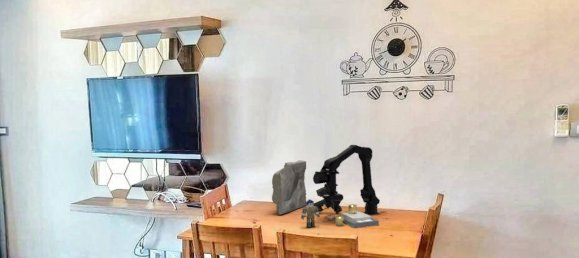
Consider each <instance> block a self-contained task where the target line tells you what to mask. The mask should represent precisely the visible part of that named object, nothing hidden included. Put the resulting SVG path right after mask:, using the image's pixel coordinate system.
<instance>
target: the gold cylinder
mask: <svg viewBox="0 0 579 258" xmlns="http://www.w3.org/2000/svg"><path fill="white" fill-rule="evenodd" d="M335 226H336V227H344V226H345V224H344V217H343V216H342V215H335Z"/></svg>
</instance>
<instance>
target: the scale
mask: <svg viewBox="0 0 579 258" xmlns="http://www.w3.org/2000/svg"><path fill="white" fill-rule="evenodd" d="M340 213H341V212H340ZM340 216H343V217H344V225H347V226H349V227H351V228H352V229H358V228H367V226H368V227H374V226H375V225H376V226H380V220H378V219H376V218H374V217H373V215H368V214H366V213H364V212H362V211H358V210H357V214H349V211H348V212H342V213H341V215H340Z"/></svg>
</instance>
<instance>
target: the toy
mask: <svg viewBox="0 0 579 258" xmlns="http://www.w3.org/2000/svg"><path fill="white" fill-rule="evenodd" d="M306 202H307V205H306V206H303V207H302V211H301V217H300V219H302V220H304V219H305V218H306V228H307V229H315V228H316V227H317V226H316V224H315V223H316V222H315V219H316V217H317V218H318V219H319V218H320V217H321V215H320V212H318V207H316V206H313V205H314V203H315V201H314V200H312V199H308V200H306ZM314 211H315V212H314Z"/></svg>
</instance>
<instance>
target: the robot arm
mask: <svg viewBox="0 0 579 258" xmlns="http://www.w3.org/2000/svg"><path fill="white" fill-rule="evenodd" d="M354 154H357V156H358V158H359V160H360V162H361V169H362V171H361V172H362V181H363V185H362V186H363V187H362V188H361V189H359V190H360V197H361V199H362V201H363V203H365V205H364V212H363V213H364V214H367V215H369V216H373V215H379V214H380V213H379V212H378V205H379V204H380V199H379V198H378V196H377V194H376V190H375V188H374V187H373V182H372V181H373V180H372V172H371V171H372V168H371V161H372V159H373V150H372V148H371V147H368V146H367V147H366V146H359V145H357V144H350V145H349V146H348V147H347V148H345V149H344V150H342V151H341V152H340V153H338V154H337V155H336V156H333V157H330V158H328V159H326V160H324V162H323V166H322V167H321V169H320V171H319V170H318V171H315V172H314V175H312V176H313V177H312V180H313V183H314V184H315V185H319V184H324V186H323V187H320V188H318V189H316V190H315V191H316V192H315V193H316V195H317V197H320V198H322V199H324V200H325V203H326V206H325V207H326V208H327V209H326V210H328V209H330V208H331V207H330V203H331V201H332V202H333V208H334V210H333V211H334V212H335V213H336V211H337V209H338V206H339V205H340V204H341V202H342V201H343V200H344V195H343V194H342V193H339V192H338V190H337V187H338V184H337V175H339V174H340V172H339V171H338V168H339V167H340V166H341V164H342V163H343V162H344V161H345V160H347V159H348V158H350V157H352V155H354Z"/></svg>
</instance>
